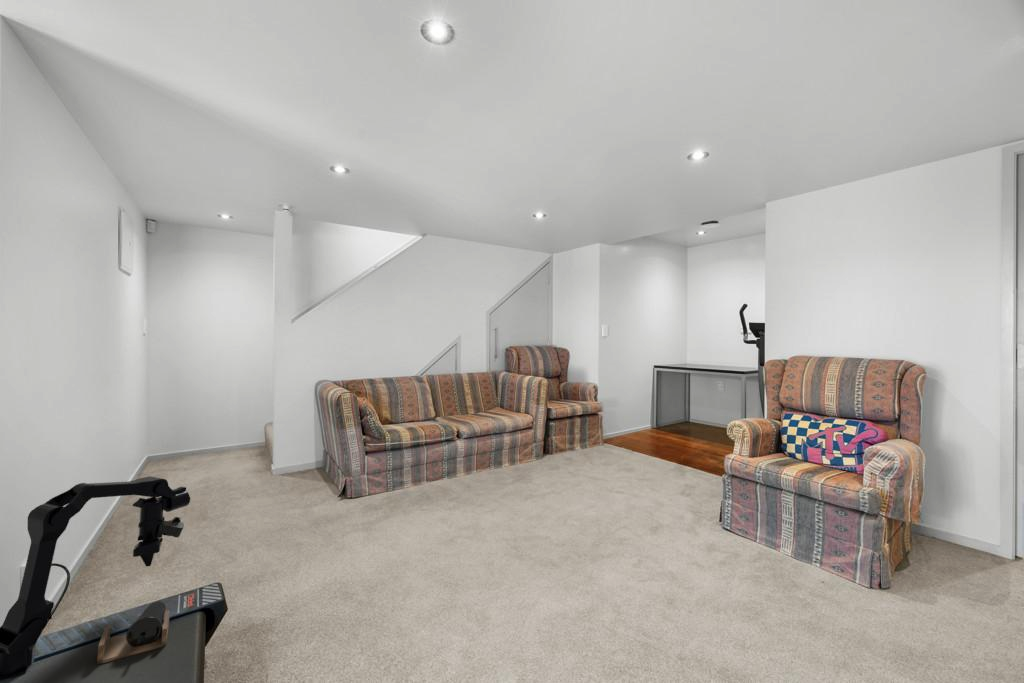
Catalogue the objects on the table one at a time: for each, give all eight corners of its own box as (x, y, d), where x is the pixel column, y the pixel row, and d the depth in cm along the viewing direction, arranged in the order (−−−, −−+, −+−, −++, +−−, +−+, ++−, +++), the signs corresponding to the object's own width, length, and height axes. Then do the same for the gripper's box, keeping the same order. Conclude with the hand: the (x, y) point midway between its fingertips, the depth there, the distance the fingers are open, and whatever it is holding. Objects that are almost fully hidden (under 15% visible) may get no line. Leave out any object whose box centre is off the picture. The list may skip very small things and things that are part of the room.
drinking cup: (175, 613, 133) (160, 647, 115) (145, 629, 129) (125, 667, 112) (166, 591, 132) (149, 622, 115) (135, 606, 128) (113, 640, 111)
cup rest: (96, 664, 112) (98, 645, 112) (104, 642, 120) (105, 625, 120) (165, 645, 120) (167, 628, 120) (168, 626, 128) (169, 609, 128)
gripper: (181, 522, 135) (178, 572, 135) (184, 503, 151) (182, 548, 150) (134, 529, 129) (131, 582, 129) (143, 508, 144) (140, 555, 144)
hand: (148, 565), depth 138 cm, fingers closed
